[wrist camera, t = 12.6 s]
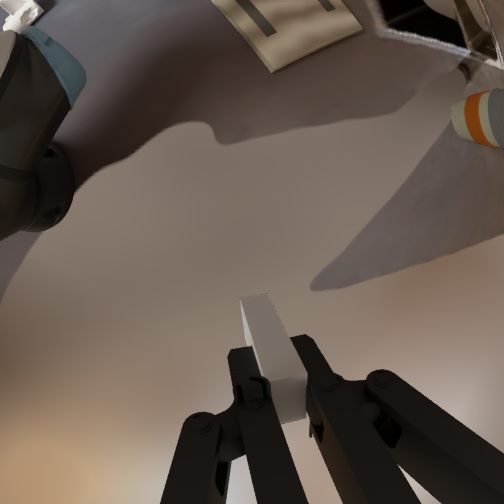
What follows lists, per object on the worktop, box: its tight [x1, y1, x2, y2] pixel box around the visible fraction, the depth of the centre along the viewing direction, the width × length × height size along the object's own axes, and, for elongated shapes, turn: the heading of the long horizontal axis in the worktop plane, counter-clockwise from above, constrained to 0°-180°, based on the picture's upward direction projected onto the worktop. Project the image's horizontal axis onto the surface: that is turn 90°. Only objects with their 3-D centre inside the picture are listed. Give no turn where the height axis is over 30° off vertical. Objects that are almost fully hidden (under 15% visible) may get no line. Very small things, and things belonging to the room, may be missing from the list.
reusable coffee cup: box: [451, 89, 504, 149], centre depth 41 cm, size 13×13×15 cm
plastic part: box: [0, 0, 44, 34], centre depth 22 cm, size 8×10×12 cm
